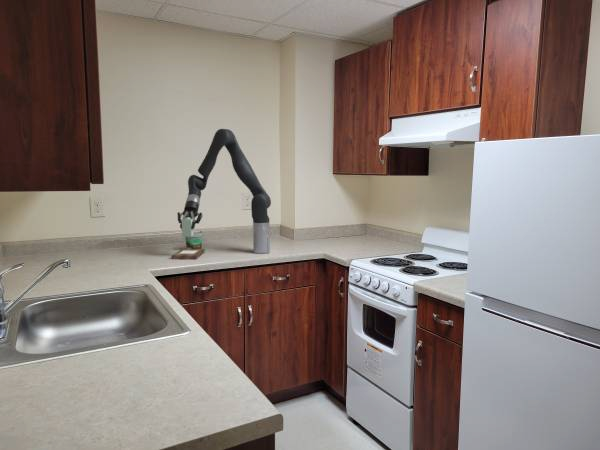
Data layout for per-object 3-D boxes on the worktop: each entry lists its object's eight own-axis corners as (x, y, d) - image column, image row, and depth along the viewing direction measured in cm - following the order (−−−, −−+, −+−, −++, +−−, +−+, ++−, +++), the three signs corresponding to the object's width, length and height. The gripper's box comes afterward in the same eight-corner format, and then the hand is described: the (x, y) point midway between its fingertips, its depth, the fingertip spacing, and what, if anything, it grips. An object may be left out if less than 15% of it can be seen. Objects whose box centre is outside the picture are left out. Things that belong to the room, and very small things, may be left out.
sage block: (193, 235, 247) (193, 217, 245) (191, 236, 242) (190, 218, 240) (184, 234, 247) (184, 217, 245) (182, 236, 242) (181, 218, 240)
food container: (191, 251, 257) (191, 234, 256) (184, 250, 261) (184, 233, 259) (208, 248, 267) (207, 231, 265) (201, 247, 270) (200, 230, 269)
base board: (204, 252, 254) (204, 248, 254) (196, 259, 237) (196, 255, 236) (181, 252, 255) (181, 248, 255) (171, 259, 237) (171, 255, 237)
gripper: (178, 199, 249) (171, 224, 239) (203, 200, 249) (198, 224, 239) (181, 208, 255) (175, 232, 245) (206, 208, 255) (201, 233, 245)
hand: (186, 228), depth 242 cm, fingers closed on sage block, 5 cm apart
